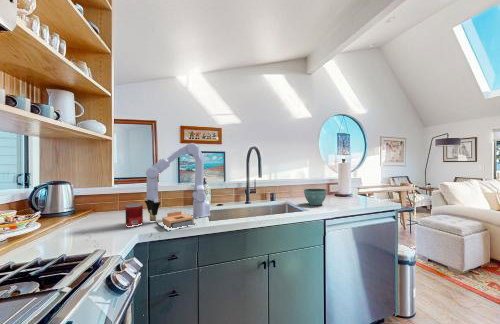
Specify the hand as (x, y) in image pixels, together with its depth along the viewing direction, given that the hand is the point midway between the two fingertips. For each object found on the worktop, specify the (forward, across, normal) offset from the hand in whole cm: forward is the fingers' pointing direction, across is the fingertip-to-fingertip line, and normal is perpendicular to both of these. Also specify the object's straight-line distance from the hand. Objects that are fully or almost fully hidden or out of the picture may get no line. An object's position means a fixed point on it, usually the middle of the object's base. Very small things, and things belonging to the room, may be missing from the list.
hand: (152, 214), depth 117 cm
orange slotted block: (+3, +16, +8) cm, 18 cm away
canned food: (+5, 0, -9) cm, 10 cm away
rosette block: (+5, +13, +8) cm, 16 cm away
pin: (+5, 0, 0) cm, 5 cm away
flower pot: (+4, +34, +104) cm, 109 cm away
